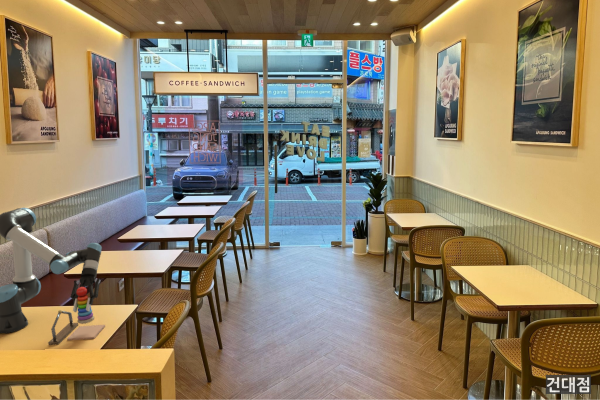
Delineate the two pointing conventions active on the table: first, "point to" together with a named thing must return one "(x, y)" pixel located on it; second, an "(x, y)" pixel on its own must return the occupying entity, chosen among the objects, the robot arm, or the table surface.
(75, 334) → the terracotta pad
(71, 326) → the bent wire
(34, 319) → the table surface
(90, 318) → the stacking toy
